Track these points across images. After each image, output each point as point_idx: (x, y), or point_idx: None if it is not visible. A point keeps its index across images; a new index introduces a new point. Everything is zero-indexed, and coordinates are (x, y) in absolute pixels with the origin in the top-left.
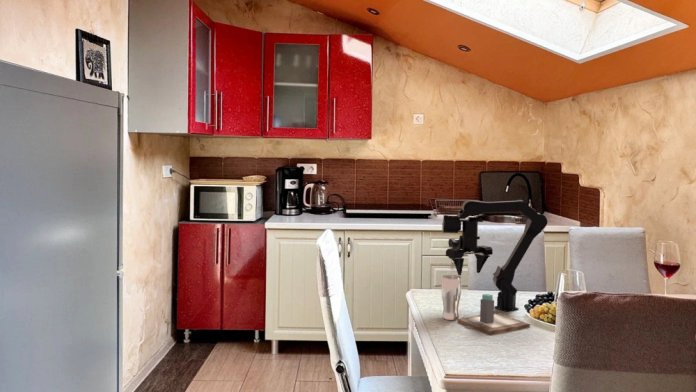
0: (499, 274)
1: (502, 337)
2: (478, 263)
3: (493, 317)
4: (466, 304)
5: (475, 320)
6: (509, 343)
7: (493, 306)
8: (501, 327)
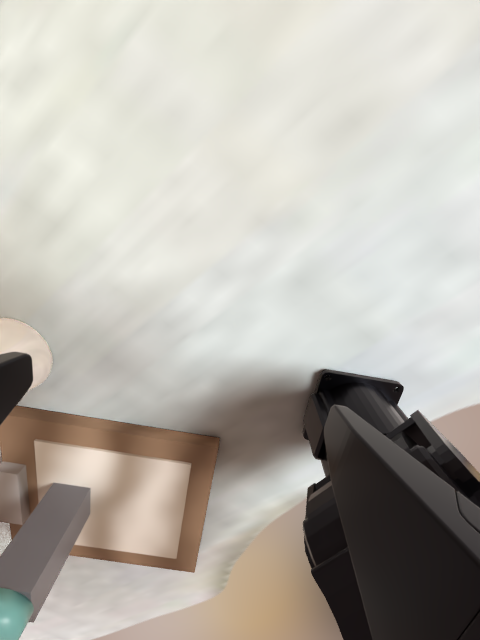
0: (341, 628)
1: None
2: (396, 542)
3: (78, 532)
4: (270, 237)
5: (16, 491)
6: None
7: (49, 585)
8: (77, 546)
